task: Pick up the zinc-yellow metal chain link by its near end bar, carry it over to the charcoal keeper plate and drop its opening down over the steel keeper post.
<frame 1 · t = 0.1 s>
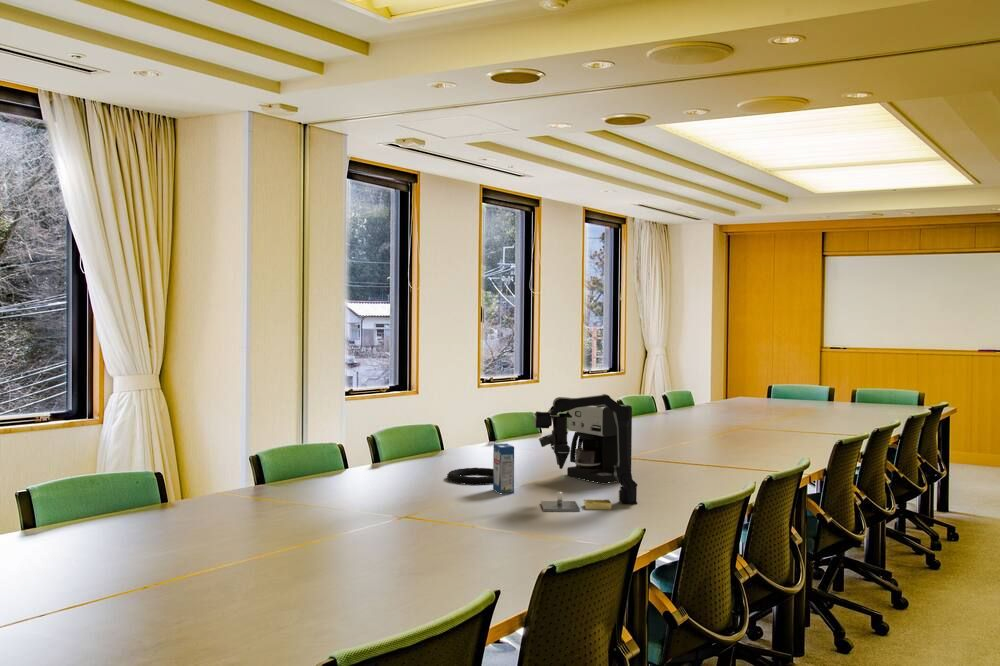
hand: (559, 466, 350), 15 cm above the table, tool pointing down, fingers open, 9 cm apart
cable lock: (479, 480, 399), on the table
keeper plate: (559, 507, 341), on the table
milk carton: (503, 492, 371), on the table
chain link: (597, 507, 342), on the table
coffee maker: (595, 477, 406), on the table
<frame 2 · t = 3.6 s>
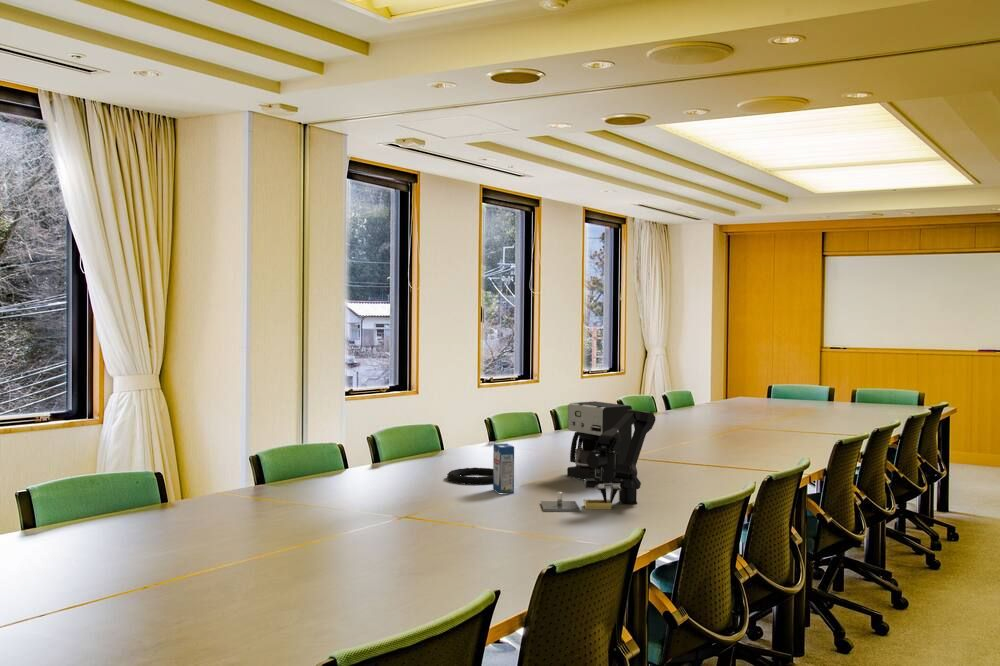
hand: (608, 504, 342), 1 cm above the table, tool pointing down, fingers closed on chain link, 1 cm apart
chain link: (597, 507, 342), on the table, touching gripper
everything else where it was.
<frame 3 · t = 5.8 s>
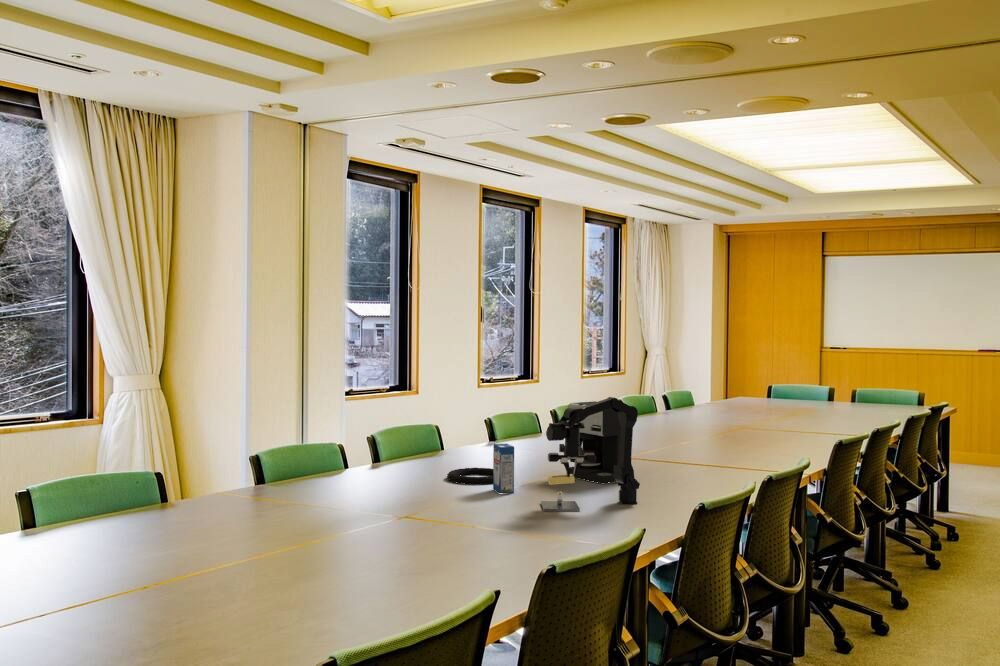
hand: (571, 479, 341), 11 cm above the table, tool pointing down, fingers closed on chain link
chain link: (561, 482, 341), point 10 cm above the table, touching gripper
everything else where it was.
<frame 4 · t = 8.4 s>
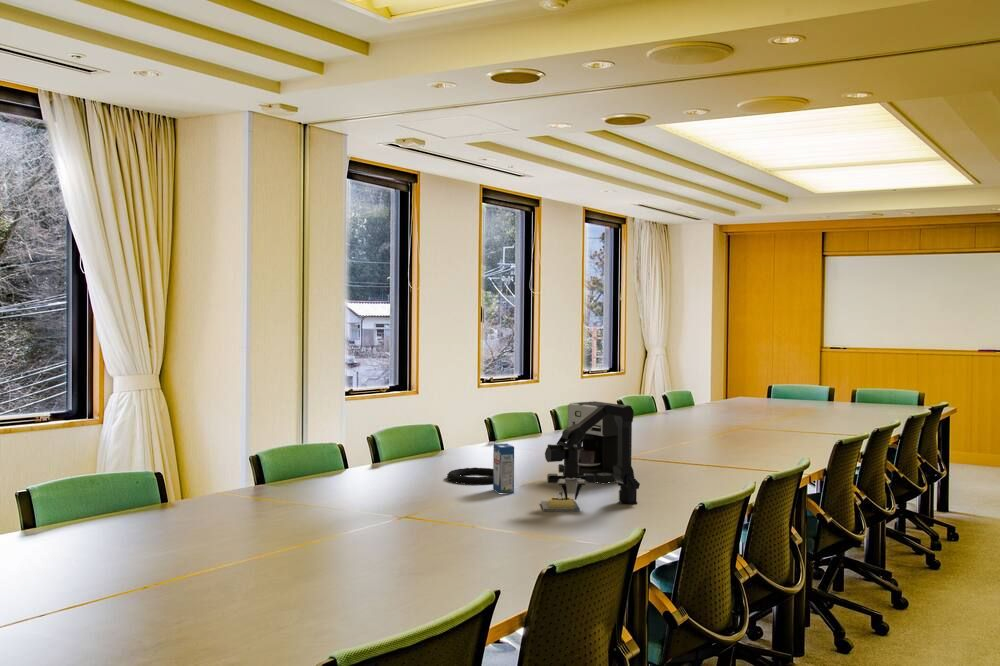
hand: (570, 499, 341), 3 cm above the table, tool pointing down, fingers open, 3 cm apart
chain link: (560, 504, 341), point 1 cm above the table, touching keeper plate
everything else where it was.
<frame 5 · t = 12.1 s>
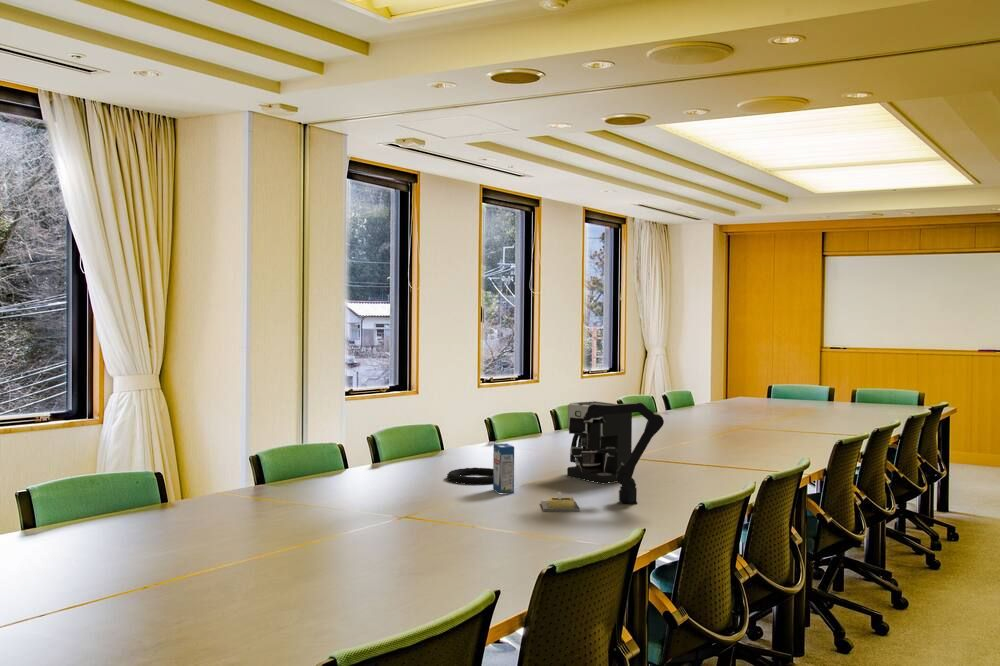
hand: (593, 472, 353), 12 cm above the table, tool pointing down, fingers open, 9 cm apart
nothing on the table moved.
at the end: chain link 0.3 cm off-centre on the keeper plate, point 1.0 cm above the keeper plate's base; the gripper is holding nothing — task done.
